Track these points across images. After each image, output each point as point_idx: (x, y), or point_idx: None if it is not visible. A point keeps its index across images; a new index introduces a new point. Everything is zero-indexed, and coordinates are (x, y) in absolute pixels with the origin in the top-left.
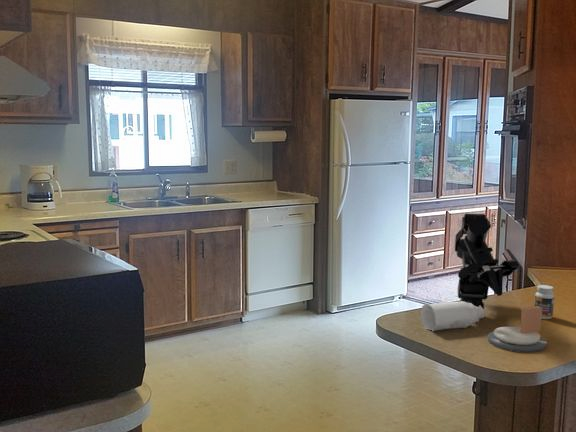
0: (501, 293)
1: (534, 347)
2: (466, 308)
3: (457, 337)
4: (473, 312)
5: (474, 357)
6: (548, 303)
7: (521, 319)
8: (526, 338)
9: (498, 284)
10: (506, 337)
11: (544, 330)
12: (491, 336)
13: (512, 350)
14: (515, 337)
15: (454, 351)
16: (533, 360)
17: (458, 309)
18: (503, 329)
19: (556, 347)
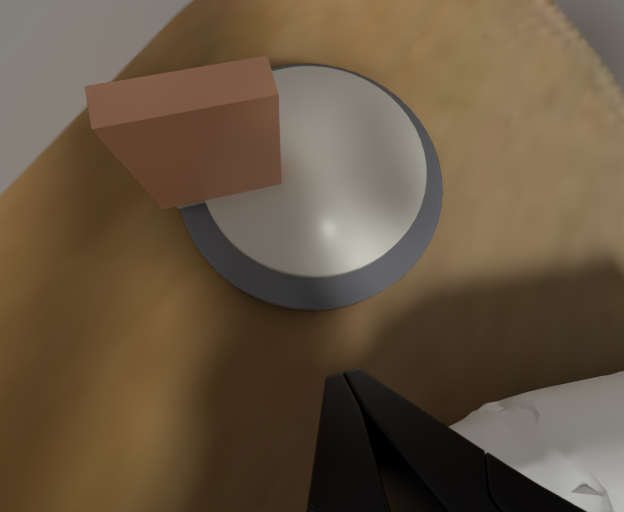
0: (339, 376)
1: (293, 65)
2: (587, 432)
3: (560, 292)
4: (501, 433)
5: (550, 69)
6: None
7: (279, 141)
8: (306, 91)
9: (405, 446)
10: (397, 117)
11: (40, 341)
12: (422, 219)
13: None
14: (352, 111)
15: (611, 133)
16: (344, 11)
17: None
18: (355, 229)
19: None
